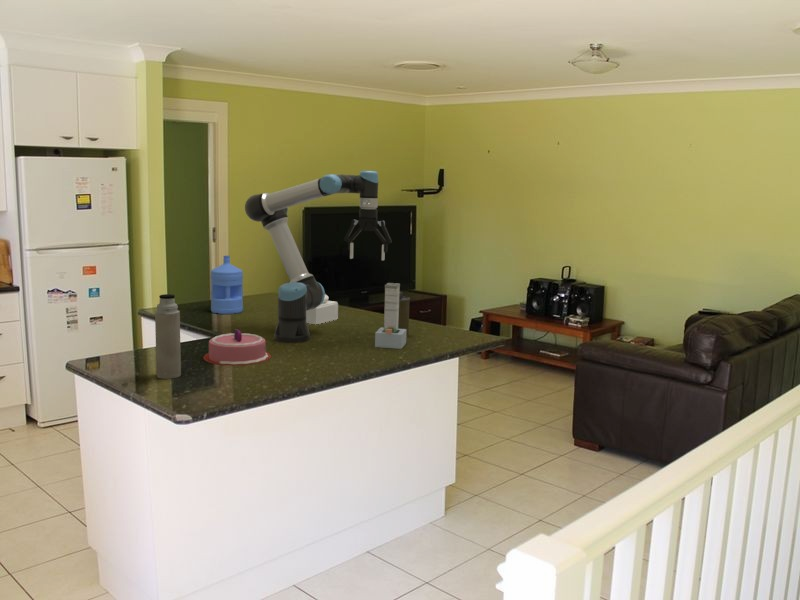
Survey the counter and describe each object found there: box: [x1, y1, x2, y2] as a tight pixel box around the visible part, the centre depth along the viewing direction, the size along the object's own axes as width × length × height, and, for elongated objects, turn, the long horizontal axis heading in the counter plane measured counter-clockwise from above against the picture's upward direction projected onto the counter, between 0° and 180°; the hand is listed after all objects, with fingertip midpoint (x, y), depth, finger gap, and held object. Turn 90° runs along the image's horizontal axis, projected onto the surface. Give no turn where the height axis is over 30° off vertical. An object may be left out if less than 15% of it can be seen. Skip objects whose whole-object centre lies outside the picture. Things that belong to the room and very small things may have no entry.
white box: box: [306, 294, 339, 326], centre depth 351 cm, size 18×18×16 cm
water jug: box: [210, 255, 244, 315], centre depth 363 cm, size 16×16×28 cm
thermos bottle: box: [154, 293, 182, 380], centre depth 248 cm, size 8×8×28 cm
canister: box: [398, 291, 411, 338], centre depth 319 cm, size 11×10×20 cm
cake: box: [203, 328, 272, 366], centre depth 277 cm, size 25×25×11 cm
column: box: [383, 282, 401, 332], centre depth 299 cm, size 5×7×19 cm
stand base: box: [374, 327, 407, 350], centre depth 301 cm, size 13×13×9 cm
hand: (367, 259), depth 307 cm, fingers open, 13 cm apart
